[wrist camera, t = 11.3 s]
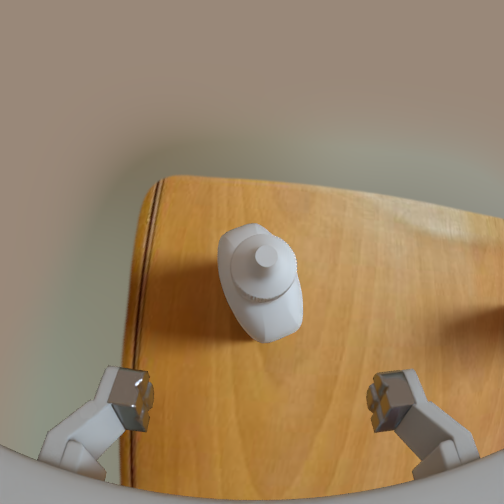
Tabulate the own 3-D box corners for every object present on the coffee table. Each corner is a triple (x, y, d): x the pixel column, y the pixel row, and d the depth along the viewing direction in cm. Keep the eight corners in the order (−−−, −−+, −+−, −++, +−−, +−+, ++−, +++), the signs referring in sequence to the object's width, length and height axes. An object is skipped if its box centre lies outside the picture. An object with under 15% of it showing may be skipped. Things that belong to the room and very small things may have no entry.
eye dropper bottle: (217, 335, 21) (183, 336, 10) (228, 254, 23) (212, 169, 11) (282, 343, 21) (326, 353, 9) (291, 262, 22) (337, 185, 11)
